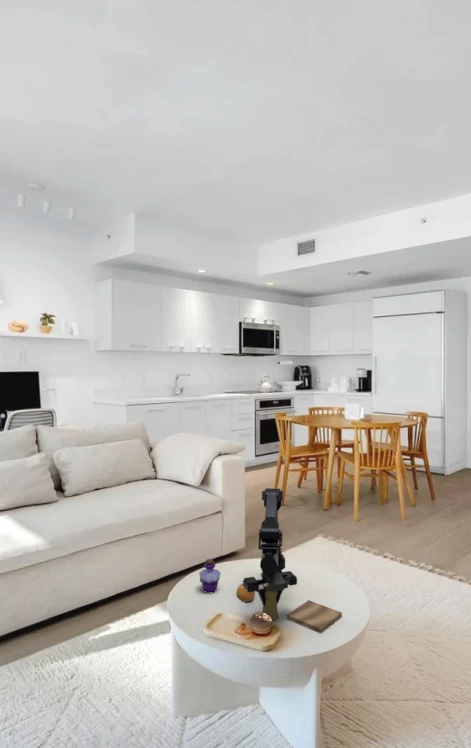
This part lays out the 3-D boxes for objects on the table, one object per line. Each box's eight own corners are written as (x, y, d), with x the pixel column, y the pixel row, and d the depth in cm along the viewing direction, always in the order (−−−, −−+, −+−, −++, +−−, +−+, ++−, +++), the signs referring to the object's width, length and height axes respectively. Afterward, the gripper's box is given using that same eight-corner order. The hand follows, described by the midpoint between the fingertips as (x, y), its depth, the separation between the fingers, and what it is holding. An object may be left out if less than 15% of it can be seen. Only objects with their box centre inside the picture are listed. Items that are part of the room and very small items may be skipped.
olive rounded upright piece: (260, 613, 181) (260, 583, 180) (277, 612, 181) (277, 582, 181) (263, 622, 175) (262, 591, 174) (280, 621, 175) (280, 590, 175)
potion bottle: (200, 584, 204) (200, 555, 203) (221, 585, 203) (221, 555, 203) (197, 594, 195) (197, 564, 195) (220, 595, 195) (219, 564, 194)
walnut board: (286, 618, 177) (286, 614, 177) (308, 604, 187) (308, 600, 187) (320, 633, 168) (320, 628, 168) (341, 616, 178) (341, 612, 178)
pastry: (257, 602, 189) (257, 592, 189) (239, 604, 188) (239, 594, 188) (252, 591, 198) (252, 581, 198) (235, 592, 197) (235, 583, 197)
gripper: (253, 574, 167) (253, 620, 167) (304, 566, 172) (304, 611, 173) (242, 561, 177) (242, 605, 178) (290, 554, 183) (290, 596, 184)
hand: (270, 604), depth 178 cm, fingers closed on olive rounded upright piece, 4 cm apart
